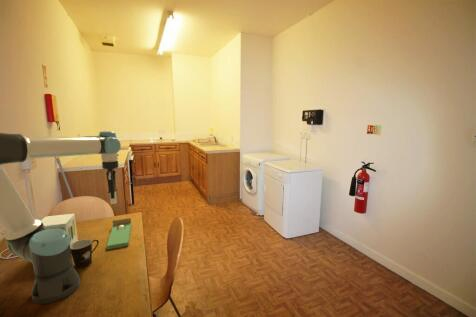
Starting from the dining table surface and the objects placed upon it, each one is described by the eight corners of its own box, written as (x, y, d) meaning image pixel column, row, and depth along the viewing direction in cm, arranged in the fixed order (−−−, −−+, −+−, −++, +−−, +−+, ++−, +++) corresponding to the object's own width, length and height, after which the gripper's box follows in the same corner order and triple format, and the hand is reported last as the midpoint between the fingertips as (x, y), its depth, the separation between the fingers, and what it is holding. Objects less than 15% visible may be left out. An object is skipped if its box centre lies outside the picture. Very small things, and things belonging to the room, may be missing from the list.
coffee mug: (73, 272, 103) (70, 251, 102) (71, 263, 110) (68, 243, 108) (103, 262, 111) (100, 242, 109) (99, 253, 117) (97, 235, 115)
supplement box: (70, 257, 115) (65, 223, 112) (37, 262, 111) (31, 227, 108) (79, 243, 127) (75, 212, 124) (49, 247, 123) (45, 216, 120)
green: (128, 245, 125) (127, 237, 124) (107, 249, 121) (106, 240, 120) (131, 225, 148) (130, 217, 148) (113, 227, 145) (112, 220, 144)
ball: (121, 225, 139) (123, 223, 142) (116, 228, 139) (118, 226, 142) (124, 230, 139) (126, 227, 143) (119, 233, 139) (121, 230, 143)
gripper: (116, 162, 119) (120, 206, 123) (119, 158, 131) (122, 199, 135) (99, 163, 117) (103, 208, 120) (104, 159, 129) (107, 200, 133)
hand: (113, 203), depth 128 cm, fingers closed
